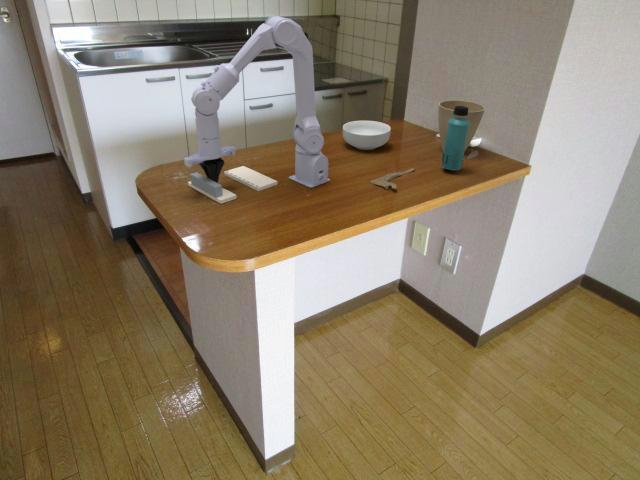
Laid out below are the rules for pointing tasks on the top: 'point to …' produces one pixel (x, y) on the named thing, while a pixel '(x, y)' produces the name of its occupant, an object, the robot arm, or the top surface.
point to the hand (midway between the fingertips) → (213, 185)
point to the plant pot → (447, 113)
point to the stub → (210, 188)
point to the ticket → (250, 178)
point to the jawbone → (383, 180)
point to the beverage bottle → (456, 140)
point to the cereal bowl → (366, 134)
